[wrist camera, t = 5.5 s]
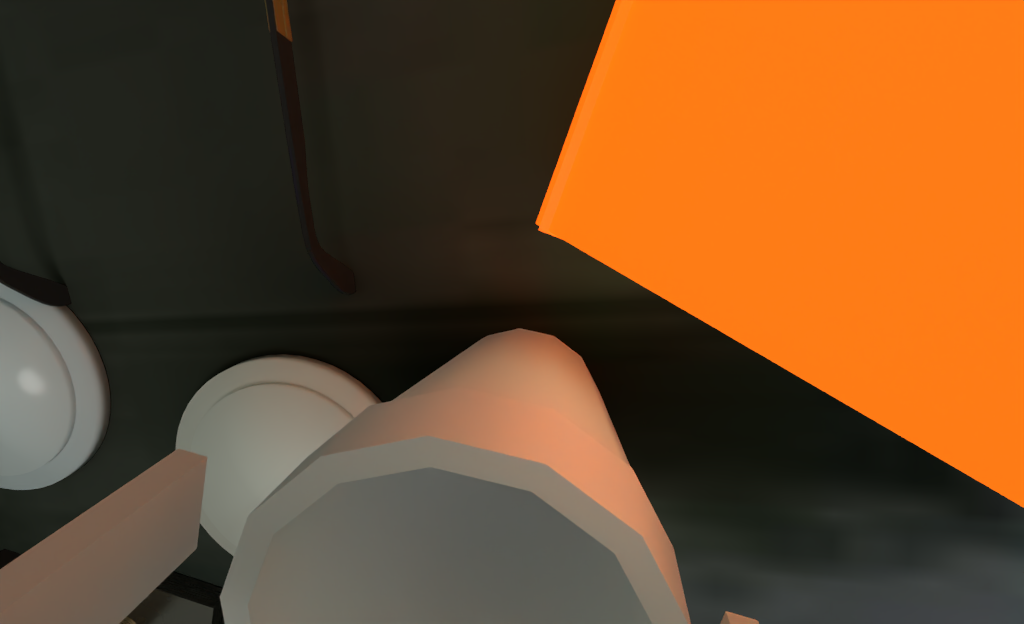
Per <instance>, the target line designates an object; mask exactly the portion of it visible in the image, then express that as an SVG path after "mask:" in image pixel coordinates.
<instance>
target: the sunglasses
mask: <svg viewBox="0 0 1024 624" xmlns="http://www.w3.org/2000/svg"><path fill="white" fill-rule="evenodd" d="M265 5H266V12H267V19H268V26H269V32H270V35H271V41H272V48H273V54H274V61H275V67H276V74H277V80H278V87H279V93H280V100H281V106H282V113H283V119H284V125H285V132H286V138H287V144H288V150H289V156H290V162H291V169H292V176H293V182H294V188H295V194H296V200H297V206H298V211H299V217H300V222H301V228H302V234H303V238H304V243H305V246H306V249H307V252H308V254H309V256H310V258H311V260H312V262H313V263H314V264H315V266H316V267H317V269H318V270H319V271H320V272H321V273H322V274H323V276H324V277H325V278H326V279H327V280H328V281H329V282H330V283H331V284H332V285H333V286H334V287H335V288H336V289H337V290H338V291H339V292H341V293H342V294H346V295H347V294H353V293H355V292H356V288H355V281H354V274H353V272H352V271H351V270H350V269H349V268H347V267H346V266H345V265H343V264H342V263H341V262H339V261H338V260H336V259H335V258H333V257H332V256H330V255H329V254H328V253H326V252H325V251H324V250H323V249H322V248H321V247H320V245H319V243H318V240H317V237H316V234H315V229H314V223H313V217H312V211H311V204H310V198H309V190H308V181H307V168H306V153H305V140H304V133H303V125H302V118H301V110H300V103H299V96H298V88H297V81H296V73H295V66H294V59H293V51H292V44H291V42H292V35H291V28H290V21H289V13H288V6H287V0H265ZM0 283H1V284H3V285H5V286H7V287H9V288H10V289H12V290H14V291H16V292H18V293H20V294H22V295H24V296H26V297H28V298H30V299H33V300H35V301H37V302H40V303H42V304H45V305H49V306H57V307H59V306H66V305H69V304H71V300H70V296H69V293H68V289H67V286H65V285H63V284H60V283H57V282H54V281H51V280H48V279H45V278H42V277H38V276H35V275H32V274H28V273H25V272H22V271H18V270H15V269H12V268H10V267H8V266H6V265H4V264H2V263H1V262H0Z"/></svg>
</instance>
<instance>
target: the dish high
mask: <svg viewBox="0 0 1024 624" xmlns="http://www.w3.org/2000/svg"><path fill="white" fill-rule="evenodd" d="M379 403H382V402H381V401H380V400H379V399H378V398H377V396H376V395H375V394H374V393H373V392H372V391H370V390H369V389H368V388H367V387H366V386H365V385H363V384H362V383H361V382H360V381H358V380H357V379H355V378H354V377H352V376H351V375H349V374H348V373H346V372H344V371H342V370H340V369H338V368H336V367H334V366H332V365H330V364H327V363H325V362H322V361H319V360H316V359H312V358H308V357H303V356H297V355H287V354H280V355H266V356H261V357H255V358H252V359H249V360H246V361H243V362H240V363H239V364H237V365H235V366H233V367H231V368H229V369H227V370H225V371H223V372H221V373H219V374H218V375H216V376H215V377H213V378H212V379H211V380H209V381H208V382H206V383H205V384H204V385H203V386H202V387H201V388H200V389H199V390H198V391H197V392H196V394H195V395H194V397H193V398H192V399H191V401H190V402H189V404H188V406H187V408H186V410H185V412H184V414H183V416H182V419H181V422H180V425H179V428H178V433H177V439H176V450H177V449H183V450H186V451H189V452H193V453H196V454H199V455H203V456H206V457H207V465H206V473H205V482H204V490H203V499H202V507H201V516H200V524H201V525H202V526H203V527H204V528H205V530H206V531H207V532H208V533H209V535H210V536H211V537H212V538H213V539H214V540H215V541H216V542H217V543H218V544H219V545H220V546H221V547H223V548H224V549H225V550H226V551H228V552H229V553H230V554H231V555H233V556H234V555H235V552H236V549H237V546H238V543H239V540H240V537H241V534H242V531H243V529H244V526H245V523H246V520H247V517H248V515H249V514H250V513H251V512H252V511H253V510H254V509H255V508H256V507H257V506H258V505H259V504H260V503H261V502H262V501H263V500H264V499H265V498H266V497H267V496H268V495H269V494H270V493H271V492H272V491H273V490H274V489H276V488H277V487H278V486H279V485H280V484H281V483H282V482H283V481H284V480H285V479H286V478H287V477H288V476H289V475H290V474H291V473H292V472H293V471H294V470H295V469H296V468H297V467H298V466H299V465H300V464H301V463H302V462H303V461H304V460H305V459H306V458H307V457H308V456H309V455H310V454H311V453H313V452H314V451H315V450H316V449H318V448H319V447H320V446H321V445H322V444H324V443H325V442H326V441H327V440H328V439H330V438H331V437H332V436H333V435H334V434H336V433H337V432H338V431H339V430H341V429H342V428H343V427H344V426H345V425H347V424H348V423H349V422H350V421H351V420H353V419H354V418H355V417H356V416H358V415H359V414H360V413H361V412H362V411H364V410H365V409H366V408H367V407H368V406H370V405H375V404H379Z"/></svg>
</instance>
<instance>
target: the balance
mask: <svg viewBox="0 0 1024 624" xmlns="http://www.w3.org/2000/svg"><path fill="white" fill-rule="evenodd" d="M222 589H223V588H220V587H217V586H214V585H211V584H208V583H205V582H202V581H199V580H196V579H193V578H190V577H187V576H183V575H180V574H177V573H174V572H172V573H171V574H170V575H169V576H168V577H167V578H166V579H165V580H164V581H163V582H162V583H161V584H160V585H158V586H157V587H156V588H155V589H154V590H153V591H152V592H151V593H150V594H149V595H148V596H147V597H146V598H145V599H144V600H143V601H142V602H141V603H140V604H139V605H138V606H137V607H136V608H135V609H134V610H133V611H132V612H131V613H130V614H129V615H128V616H127V617H126V618H124V619H123V620H122V621H121V622H120V623H119V624H225V623H224V617H223V612H222V606H221V601H220V595H221V592H222Z"/></svg>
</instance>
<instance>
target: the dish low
mask: <svg viewBox="0 0 1024 624" xmlns="http://www.w3.org/2000/svg"><path fill="white" fill-rule="evenodd" d="M109 417H110V390H109V383H108V379H107V375H106V371H105V367H104V365H103V362H102V359H101V357H100V354H99V352H98V350H97V348H96V346H95V344H94V342H93V340H92V338H91V337H90V335H89V334H88V332H87V331H86V329H85V328H84V326H83V325H82V323H81V322H80V321H79V320H78V318H77V317H76V316H75V315H74V313H73V312H72V311H71V310H70V309H69V308H68V307H67V306H59V307H57V306H49V305H45V304H42V303H40V302H37V301H35V300H33V299H30V298H28V297H26V296H24V295H22V294H20V293H18V292H16V291H14V290H12V289H10V288H9V287H7V286H5V285H3V284H1V283H0V488H6V489H13V490H30V489H37V488H42V487H45V486H49V485H52V484H54V483H56V482H58V481H60V480H62V479H63V478H65V477H67V476H69V475H70V474H72V473H74V472H76V471H77V470H79V469H80V468H81V467H83V466H84V465H85V464H87V462H88V461H89V460H90V459H91V458H92V457H93V456H94V455H95V453H96V452H97V450H98V449H99V448H100V446H101V444H102V442H103V439H104V437H105V435H106V431H107V428H108V424H109Z"/></svg>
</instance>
